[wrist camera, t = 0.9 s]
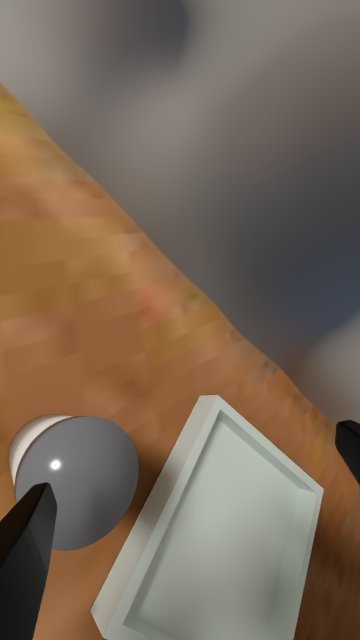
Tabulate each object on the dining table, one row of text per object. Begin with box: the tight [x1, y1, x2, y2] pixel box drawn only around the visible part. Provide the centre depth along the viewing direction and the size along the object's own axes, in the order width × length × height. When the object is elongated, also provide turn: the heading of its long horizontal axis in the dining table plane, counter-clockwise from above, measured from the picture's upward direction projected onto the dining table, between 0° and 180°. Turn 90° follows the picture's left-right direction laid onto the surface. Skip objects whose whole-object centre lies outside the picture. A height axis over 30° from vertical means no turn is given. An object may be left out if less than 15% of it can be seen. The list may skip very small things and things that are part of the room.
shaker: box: [8, 414, 139, 551], centre depth 15 cm, size 5×5×9 cm
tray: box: [90, 395, 324, 640], centre depth 23 cm, size 16×16×2 cm
